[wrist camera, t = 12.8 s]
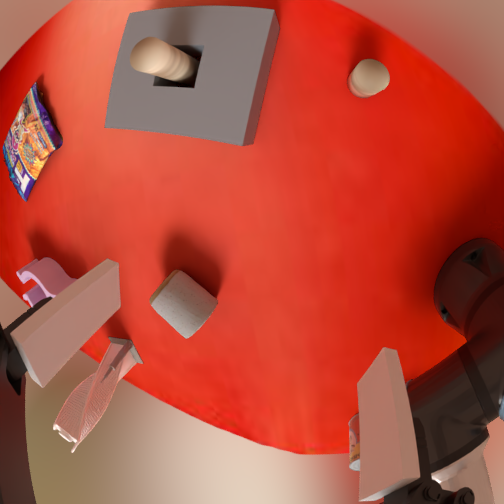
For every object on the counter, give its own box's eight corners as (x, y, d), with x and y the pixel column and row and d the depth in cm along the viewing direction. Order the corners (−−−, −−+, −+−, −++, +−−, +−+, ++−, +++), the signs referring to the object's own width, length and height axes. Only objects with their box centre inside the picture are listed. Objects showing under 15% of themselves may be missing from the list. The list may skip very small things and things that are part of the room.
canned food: (351, 410, 49) (352, 456, 38) (399, 404, 46) (406, 448, 36) (346, 432, 53) (346, 473, 43) (389, 427, 51) (393, 467, 40)
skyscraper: (146, 366, 55) (88, 462, 30) (120, 361, 57) (62, 447, 32) (132, 339, 52) (60, 439, 27) (105, 335, 54) (36, 422, 29)
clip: (91, 276, 47) (69, 294, 40) (98, 322, 52) (80, 341, 46) (34, 249, 48) (13, 262, 42) (43, 292, 54) (25, 306, 48)
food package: (76, 150, 37) (59, 154, 33) (26, 215, 46) (13, 222, 42) (45, 67, 31) (29, 67, 27) (-1, 143, 39) (-14, 146, 35)
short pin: (377, 76, 25) (392, 66, 20) (372, 102, 27) (386, 96, 21) (349, 67, 25) (358, 54, 20) (344, 92, 27) (352, 84, 21)
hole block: (280, 28, 25) (274, 9, 19) (253, 144, 32) (242, 146, 26) (152, 24, 26) (129, 13, 21) (130, 125, 33) (104, 127, 28)
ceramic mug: (182, 257, 40) (158, 284, 33) (224, 292, 41) (208, 324, 35) (154, 296, 45) (131, 323, 38) (190, 326, 46) (173, 356, 39)
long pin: (211, 62, 28) (166, 35, 17) (205, 87, 29) (157, 70, 19) (185, 61, 28) (134, 38, 17) (180, 85, 30) (126, 71, 19)
